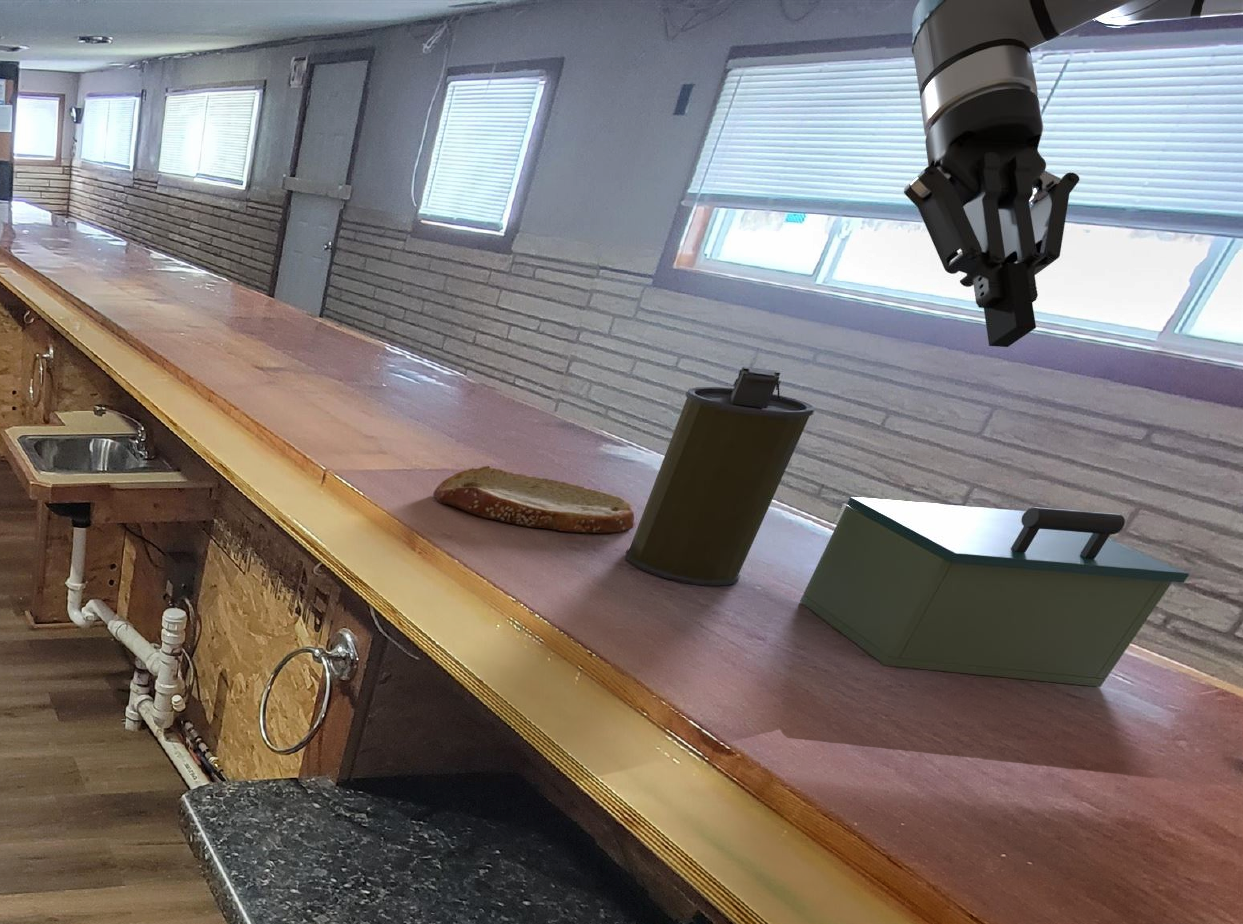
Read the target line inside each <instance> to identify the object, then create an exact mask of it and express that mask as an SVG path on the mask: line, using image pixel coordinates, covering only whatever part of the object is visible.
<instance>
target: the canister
mask: <svg viewBox="0 0 1243 924" xmlns="http://www.w3.org/2000/svg"><path fill="white" fill-rule="evenodd" d="M780 375H781V371H780V370H773V369H765V368H758V367H750V366H742V367H741V369H739V371H738V376H737V378H736V379H735V380H734V383H733V384H732V386H733V387H720V386H698V387H697V386H696V387H692V388H689V389H688V390H687V391H686V393H685V397H686V399H685V401H684V405H683V407H682V409H681V412H680V415H679V417H678V421H677V423H676V426H675V428H674V431H673V434H672V436H671V438H670V441H669V444H668V446H667V449H666V452H665V455H664V457H663V460H662V462H661V465H660V468H659V469H658V473H657V475H656V478H655V481H654V484H653V487H652V489H651V491H650V494H649V497H648V500H647V502H646V504H645V507H644V510H643V512H642V515H641V518H640V521H639V523H638V526H637V528H636V531H635V534H634V536H633V538H632V540H631V541H632V542H631V544H630V547H629V548H627V549H626V551H625V559H626V560H627V561H628V562H629V563H631V564H632V565H633V566H635V567H636V568H637V569H639V570H642V571H644V572H646V573H649V574H652V575H654V576H657V577H660V578H664V579H667V580H670V581H675V582H678V583H683V584H689V585H695V586H704V587H708V586H709V587H714V586H715V587H716V586H719V587H720V586H731V585H733V584H735V583H737V582H738V581H739V580H740V579H741V571H742V569H743V566H744V564H745V561H746V559H747V557H748V555H749V553H750V550H751V548H752V545H753V544H754V542H755V539H756V537H757V534H758V532H759V530H760V528H761V525H762V523H763V521H764V519H765V516H766V515H767V512H768V510H769V508H770V506H771V504H772V501H773V499H774V496H775V494H776V492H777V490H778V488H779V486H780V483H781V481H782V479H783V476H784V475H785V472H786V470H787V467H788V465H789V463H790V461H791V458H792V457H793V454H794V452H795V450H796V447H797V445H798V443H799V441H800V438H801V436H802V434H803V432H804V429H805V428H806V426H807V424H808V420H809V418H810V416H813V415H814V413H815V411H816V409H815V407H814V406H813V405H811V404H810V403H808V402H805V401H803V400H799V399H796V398H793V397H789V396H784V395H780V385H781V381H780V378H781V377H780ZM775 390H776V391H777V394H775V393H774V392H775Z"/></svg>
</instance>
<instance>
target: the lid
mask: <svg viewBox="0 0 1243 924" xmlns="http://www.w3.org/2000/svg"><path fill="white" fill-rule="evenodd" d="M846 506H850V507H852V508H853V509H855V510H857V511H859V512H861V513H862V514H864V515H866V516H868V517H870V518H871V519H873V520H875V521H877V522H879V523H880V524H882V525H884V526H886V527H888V528H889V529H891V530H893V531H895V532H897V533H898V534H900V535H902V536H904V537H906V538H907V539H909V540H911V541H913V542H915V543H916V544H918V545H920V546H922V547H924V548H925V549H927V550H929V551H931V552H933V553H935V554H936V555H938V556H940V557H942V558H944V559H945V560H947V561H949V562H953V563H964V564H975V565H987V566H998V567H1010V568H1021V569H1032V570H1044V571H1055V572H1066V573H1078V574H1089V575H1100V576H1112V577H1123V578H1135V579H1146V580H1157V581H1169V582H1172V583H1181V584H1182V583H1183V584H1184V583H1185V582H1186V580H1187V579H1188V577H1189V576H1190V573H1189V572H1187V571H1185V570H1182V569H1180V568H1178V567H1176V566H1173V565H1171V564H1168V563H1166V562H1164V561H1161V560H1160V559H1157V558H1155V557H1152V556H1150V555H1148V554H1145V553H1143V552H1141V551H1138V550H1136V549H1134V548H1132V547H1129V546H1127V545H1125V544H1122V543H1120V542H1118V541H1115V540H1113V539H1110V538H1109V537H1110V535H1116V534H1118V533H1120V532H1121V531H1122V530H1123V528H1124V527H1125V524H1126V519H1125V517H1124V515H1121V514H1119V513H1112V512H1111V513H1109V512H1098V511H1097V512H1096V511H1084V510H1074V509H1061V508H1047V507H1035V506H1033V507H1030V508H1027V509H1026V510H1018V509H1017V510H1016V509H1007V508H1006V509H1004V508H993V507H992V508H991V507H979V506H967V505H954V504H943V503H931V502H920V501H905V500H893V499H883V498H882V499H881V498H868V497H858V496H857V497H856V496H850V497H849V498H848V501H847V503H846Z"/></svg>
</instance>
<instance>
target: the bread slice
mask: <svg viewBox="0 0 1243 924" xmlns="http://www.w3.org/2000/svg"><path fill="white" fill-rule="evenodd" d="M433 496H434V497H435V499H436V500H437V501H438V503H440V504H444V505H447V506H451V507H454V508H458V509H460V510H463V511H464V512H466V513H470V514H472V515H475V516H478V517H481V518H484V519H488V520H493V519H494V520H495V521H498V520H499V522H503V523H506V524H511V523H513V524H512V525H516V524H517V526H523V527H526V528H527V527H528V528H534V529H535V528H536V529H548V530H553V531H558V532H565V533H581V534H583V533H585V534H613V533H620V532H625V531H628V530H630V529H631V530H632V529H633V528H634V526H636V514H635V511H634V509H633V506H632V504H631V503H630V502H628V501H627V500H625V499H624V498H622V497H621V496H618V495H614V494H611V493H607V492H603V491H600V490H597V489H592V488H587V487H584V486H581V485H578V484H572V483H568V482H565V481H560V480H559V481H558V480H555V479H549V478H545V477H544V478H543V477H542V478H541V477H537V476H532V475H526V474H524V473H515V472H512V471H506V470H503V469H500V468H491V466H490V465H486V466H481V467H479V468H474V467H471V468H469V469H467V470H466V469H465V470H462V471H459V472H456V473H455V474H453V475H451V476H449V477H446V479H444V480H442V482H440V484H439V485H438V486H437V487H436V488H435V490H434V491H433Z"/></svg>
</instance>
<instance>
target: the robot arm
mask: <svg viewBox="0 0 1243 924" xmlns="http://www.w3.org/2000/svg"><path fill="white" fill-rule="evenodd" d="M1237 15H1243V0H919V1H918V3H917V4H916V6H915V8H914V11H913V14H912V19H911V25H912V40H911V43H912V44H911V46H910V47H911V53H912V55H913V60H914V66H915V72H916V79H917V85H918V92H919V100H920V101H919V102H920V109H921V116H922V124H923V125H922V126H923V132H924V136H925V150H926V158H927V167H925V168H924V169H923V170H922V171H921V172H920V173H919V174H918V175H917V176H916V177H915V178H914V179H913V180H912V181H910V183H908V184H907V185H906V186H905V187H904V189H903V193H904V195H905V196H906V197H907V198H908V199H909V200H910V201H911V202H912V203H913V204H914V206H915V207H916V208H917V209H918V212H919V214H920V216H921V218H922V221H923V223H924V225H925V229H926V230H927V232H928V234H929V237H930V240H931V242H932V244H933V246H934V249H935V250H936V253H937V255H938V257H939V260H940V262H941V264H942V266H943V269H944V271H945V272H947V273H948V274H950V275H955V274H957V273H958V272H960V273H964V274H966V275H965V276H964V277H963V278H962V279H960V280H959V283H960V284H961V286H963V287H966V288H970V287H973V291H974V292H973V293H974V297H975V299H974V300H975V304H976V305H977V307H978V308H979V309H983V313H984V319H985V327H986V328H985V329H986V334H987V342H988V347H1000V348H1008V347H1010V346H1011V345H1013V344H1014V343H1016V342H1017V341H1020V339H1022V338H1023V337H1025V336H1026V335H1028V334H1030V333H1031V332H1032V331H1034V330H1035V329H1036V328H1037V324H1036V318H1035V311H1034V305H1033V304H1034V303H1035V302H1036V300H1037V298H1038V296H1039V293H1038V288H1037V281H1036V275H1038V274H1039V273H1041V272H1042V271H1043V270H1044V269H1045V268H1048V266H1050V265H1051V264H1053V262H1055V261H1057V260H1058V259H1059V258H1060V256H1061V252H1062V244H1063V239H1064V233H1065V225H1066V219H1067V212H1068V205H1069V199H1070V194H1071V193H1072V191H1073V190H1074V188H1075V187H1076V186H1077V185H1078V183H1079V182H1080V180H1081V179H1080V176H1079V175H1078V174H1077V173H1075V172H1067V173H1065V174H1064V175H1063V176H1062V177H1059V176H1057V175H1055V174H1053V173H1050V172H1049V171H1047V170H1046V168H1047V161H1046V160H1045V158H1043V157H1042V155H1041V154H1040V152H1039V144H1040V143H1041V139H1042V136H1043V134H1044V133H1043V132H1044V122H1043V116H1042V111H1041V110H1042V109H1041V104H1040V100H1039V99H1040V98H1039V97H1038V96H1039V92H1038V85H1037V80H1036V75H1035V69H1034V65H1033V58H1032V53H1031V50H1033V49H1035V48H1037V47H1039V46H1041V45H1044V44H1046V43H1047V42H1051V41H1053V40H1054V39H1057V38H1059V37H1060V36H1062V35H1064V34H1066V33H1068V32H1070V31H1072V30H1075V29H1076V28H1078V27H1081V26H1083V25H1084V24H1087V23H1089V22H1091V21H1094V22H1096V23H1097V24H1099V25H1101V26H1103V27H1107V28H1135V27H1139V26H1143V25H1146V24H1150V23H1153V22H1161V21H1174V20H1176V21H1177V20H1188V19H1194V18H1208V17H1220V16H1221V17H1223V16H1237ZM1030 204H1032V206H1030ZM959 250H960V251H959ZM958 251H959V252H958Z"/></svg>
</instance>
